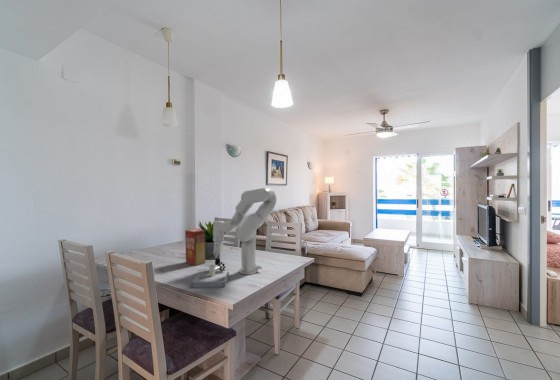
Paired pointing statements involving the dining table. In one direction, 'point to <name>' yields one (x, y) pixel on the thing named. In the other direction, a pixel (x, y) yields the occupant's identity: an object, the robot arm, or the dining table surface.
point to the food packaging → (195, 246)
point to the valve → (216, 268)
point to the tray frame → (208, 282)
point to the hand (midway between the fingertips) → (217, 264)
